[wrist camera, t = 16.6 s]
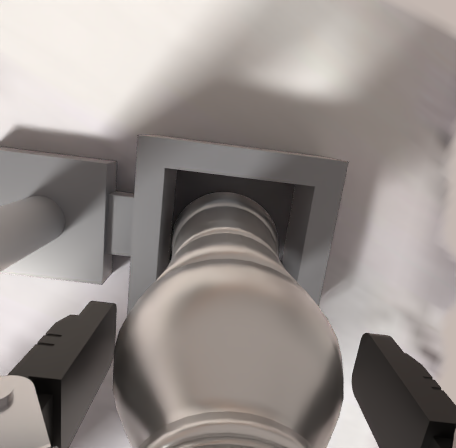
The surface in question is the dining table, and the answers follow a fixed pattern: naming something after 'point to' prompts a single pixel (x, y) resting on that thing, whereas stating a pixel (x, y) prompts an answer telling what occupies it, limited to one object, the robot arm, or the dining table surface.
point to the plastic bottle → (227, 342)
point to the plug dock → (149, 209)
